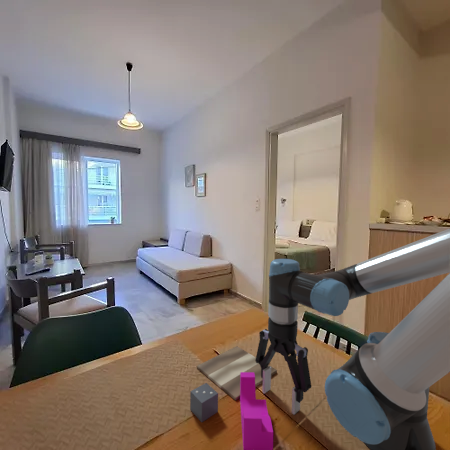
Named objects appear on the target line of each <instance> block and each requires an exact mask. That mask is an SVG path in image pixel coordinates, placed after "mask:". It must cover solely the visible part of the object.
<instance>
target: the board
mask: <svg viewBox="0 0 450 450" xmlns="http://www.w3.org/2000/svg"><path fill="white" fill-rule="evenodd" d="M255 360H256V356H254V355H253V354H251V353H249V351H246V350H245V349H243V348H241V347H239V346H238V345H236V346H234V347H232V348H230V349H228V350H226V351H224V352H222V353H220V354H218V355H216V356H214V357H212V358H209V359H208V360H206V361H204V362H202V363H199V364H198V365H196V370H198V371H199V370H200V371H199V372H201V373H202V375H204V376H205V377H207V378H208V379H209V380H210V381H211V382H213V383H214V384H215V385H216V386H217V387H219V389H221V390H222V391H223V392H224V393H226V394H227V395H228V397H229V396H230V398H232V399H233V400H234V401H237V400H240V372H254V374H255V388H257V387H258V386H259V385H261V384H263V379H262V378H261V367H260V364H259V363H256V361H255ZM268 366H270V367H271V377H272V376H273V375H275V374H277V373H278V372H277V371H278V369H276V368H275V367H273V366H271V365H270V364H269V365H268Z"/></svg>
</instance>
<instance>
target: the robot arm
mask: <svg viewBox="0 0 450 450" xmlns="http://www.w3.org/2000/svg"><path fill="white" fill-rule="evenodd" d="M269 264H270V265H269V272H268V273H269V274H268V281H269V283H268V313H267V314H268V315H267V316H268V319H267V321H268V322H267V323H268V324H267V328H265V329H263V330H261V331H259V342H258V346H257V351H256V356H255V357H256V360H255V361H256V363H259V364H260V367H261V378H262V379H263V382H262V393H263V394H266V393H268V391H270V390H271V387H272V376H271V367H272V366H271V365H270V364H271V361H272V359H274V356H275V355H276V354H280V355H281V356H282V357H283V358H284V361H285V362H286V363H287V366H288V370H289V372H290V375H291V379H292V382H293V385H294V386H293V387H292V389H291V390H292V391H291V392H292V393H291V394H292V395H291V414H293V415H296V414H297V413H298V412H299V411H300V410H301V402H302V401H303V400H304V393H306V392H308V391H309V390H310V389H311V388H312V380H311V375H310V374H311V373H310V368H309V361H308V353H309V349H308V348H307V347H306V346H304V347H302V346H301V345H299V344H298V341H297V336H298V327H299V326H298V318H299V316H298V314H299V305H301V306H304V307H307V308H309V309H312V310H314V311H317V312H318V313H322V314H324V315H329V316H332V317H339V316H341V315H342V314H343V313H344V311H346V309H347V307H348V305H349V302H350V301H351V300H354V299H358V298H361V297H364V296H369V295H372V294H374V293H378V292H382V291H387V290H388V289H393V288H397V287H401V286H404V285H408V284H411V283H415V282H419V281H423V280H426V279H430V278H431V279H432V278H434V277H438V276H441V275H445V274H447V275H446V276H445V277H444V278H443V279H442V280H441V281H440V282H439V283H438V284H437V285H436V286H435V287H434V288H433V289H432V290H430V292H429V293H428V294H427V295H426V296H425V297H424V298H423V299H422V300H421V301H420V302H419V303H418V304H417V305H416V306H415V307H414V308H413V309H412V310H411V311H410V312H409V313H408V314H407V315H405V317H404V318H403V319H401V321H399V323H398V324H397V325H395V327H394V328H393V329H391V331H390V332H385V331H374V332H370V333H369V334H368V338H367V340H366V342H367V343H364V344H363V345H362V346H361V347H360V348H359V349H358V350H357V351H355V353H353V355H352V356H351V357H350V358H349V359H348V360H347V361H346V362H344V363H343V365H341V366H339V367H338V368H337V369H334V370H332V371H331V372H330V374H329V375H328V376H327V378H326V379H325V382H324V393H325V396H326V402H327V404H328V407H329V408H330V410H331V413H332V414H333V415H334V417H335V418H336V420H337V421H338V423H339V424H340V425H341V426H342V427H343V428H344V430H345V431H347V433H349V434H350V435H351V436H352V437H354V438H356V439H358V440H359V441H361V442H362V443H364V444H365V446H366V447H368V449H370V450H437V449H436V442H435V439H434V435H433V432H432V430H431V426H430V423H429V419H428V409H429V398H430V397H429V396H430V387H432V385H434V384H435V383H437V382H438V381H439V380H441V379H442V378H443V377H444V376H446V375H448V374H449V373H450V228H447V229H445V230H442V231H439V232H436V233H434V234H432V235H429V236H426V237H424V238H420V239H418V240H416V241H413V242H411V243H408V244H405V245H402V246H400V247H397V248H394V249H391V250H390V251H386V252H385V253H384V252H383V253H381V254H378V255H376V256H374V257H371V258H368V259H366V260H363V261H361V262H358V263H355V264H352V265H350V266H349V265H348V266H347V267H345V268H340V269H338V270H335V271H330V272H326V273H325V272H324V273H322V274H312V273H308V272H304V271H302V270H301V268H300V262H299V261H297V260H294V259H291V258H276V259H273V260H272V261H271V262H270V263H269ZM269 342H270V345H269V344H268V343H269ZM268 345H269V347H268ZM267 347H268V348H267ZM266 351H267V352H266ZM268 365H269V366H268ZM270 366H271V367H270Z"/></svg>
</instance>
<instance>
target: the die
mask: <svg viewBox="0 0 450 450" xmlns="http://www.w3.org/2000/svg"><path fill="white" fill-rule="evenodd" d="M189 395H190V401H189V403H190V405H189V407H190V411H191V412H192V413H193V414H194V416H195V417H196V418H197V419H198V421H200V422H201V423H203V422H205V421H206V420H208V419H209V418H211V417H212V416H215V414H217V413H219V393H218V391H216V390H215V389H214V388H213V387H212V386H211V385H209V383H207V382H206V383H203V384H202V385H200V386H197V387H196V388H194V389H192V390H191V391H190V394H189Z"/></svg>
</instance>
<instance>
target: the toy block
mask: <svg viewBox="0 0 450 450" xmlns="http://www.w3.org/2000/svg"><path fill="white" fill-rule="evenodd" d="M239 404H240V419H241V420H240V421H241V434H242V450H274V430H273V425H272V419H271V416H270V415H269V411H268V406H267V399H259V398H258V399H257V396H256V387H255V374H254V372H240V398H239Z"/></svg>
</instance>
